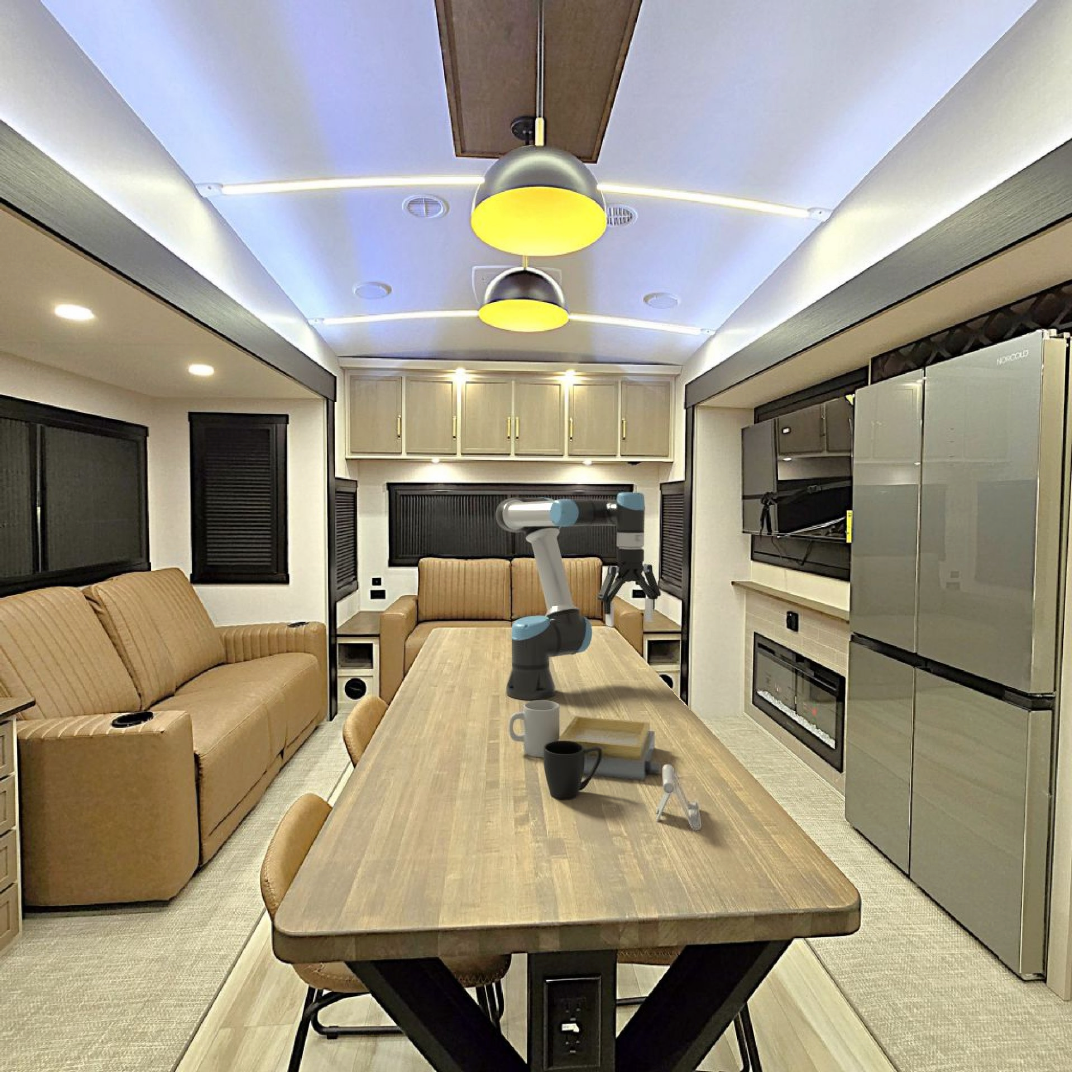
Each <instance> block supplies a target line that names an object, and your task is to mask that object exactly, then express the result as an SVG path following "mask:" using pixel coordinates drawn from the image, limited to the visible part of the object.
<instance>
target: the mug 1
mask: <svg viewBox="0 0 1072 1072" xmlns="http://www.w3.org/2000/svg"><path fill="white" fill-rule="evenodd" d="M516 720H522V721H523V732H522V733H520V734H516V733H515V732H514V722H515V721H516ZM508 732H509V736H510V738H511V740H513V741H515V742H523V753H525V755H527V756H530V757H532V758H540V759H541V758H544V746H545V745H546V744H547V743H550V742H553V741H558V739H559V738H560V736H561V735H560V704H559V703H558V702H555V701H552V700H544V699H536V700H529V701H528V702H526V703H524V704H523V711H519V712H514V713H513V714H512V715H511V716H510V718H509V721H508Z"/></svg>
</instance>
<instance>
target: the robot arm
mask: <svg viewBox="0 0 1072 1072" xmlns="http://www.w3.org/2000/svg"><path fill="white" fill-rule="evenodd" d="M645 502H646V501H645V495H644V493H642V492H637V491H636V492H631V491H630V492H628V491H627V492H619V493H618V494H617V498H616V499H605V498H604V499H602V498H600V499H576V498H575V499H574V498H573V499H571V498H560V499H556V500H555V499H553V498H549V497H540V496H539V497H509V498H507V499H503V500H502V501H501V502H500V503H499V505H498V506H497V507H496V511H495V520H496V522H497V524H498V525H499V527H500V528H502V529H503V530H504V531H507V532H510V533H524V536H525V540H526V542H528V543H530V544H531V547H532V551H533V554H534V560H535V563H536V568H537V572H538V576H539V580H540V584H541V585H540V586H541V589H542V593H543V596H544V601H545V606H546V609H547V610H546V611H547V612H546V613H545V615H530V616H524V617H521V618H518V619H516V620H515V621H514V622H513V623H512V626H511V634H510V639H511V670H510V674H509V676H508V679H507V683H506V686H505V691H506V693H505V694H506V695H507V696H508V697H510V698H513V699H517V700H526V701H527V700H528V701H536V700H544V699H549V698H551V697H554V695H555V694H556V686H555V682H554V679H553V675H552V673H551V669H550V658H555V657H561V656H569V655H572V656H573V655H576V654H580V653H584V652H585V651H586V650H587V649H588V648H589V647H590V645H591V641H592V638H593V628H592V623H591V621H590V620H589V619H588V618H587V617H586V616H583V615H582V614H581V611H580V609H579V607H577V606H576V605H574V602H573V598H572V595H571V591H570V587H569V583H568V579H567V575H566V569H565V567H564V563H563V558H562V554H561V551H560V550H561V549H560V546H559V542H558V539H557V537H558V536H559V534H560V529H561V528H562V527H566V528H568V527H587V526H588V527H592V526H593V527H594V526H595V527H596V526H597V527H598V526H602V527H603V526H611V527H612V526H613V527H614V526H615V527H616V547H618V548H617V549H616V561H617V566H614V565H613V566H612V565H608V566H607V573H606V575H605V577H604V580H603V583H602V585H601V588H600V590H599V593H598V595H597V600H599V601H601V602H603V613H604V615H605V626H608V627H610V628H612V627H614V626H615V623H614V622H615V603H614V602H613V600H614V599H615V597H616V596H617V594H618V592H619V591H620V590H621V588H622V586H624V584H626V583H630V582H636V583H637V584H638V585H639V587H640V589H641V590H642V592H644V594H645V596H646V598H644V622H647V623H653V622H654V611H655V610H656V609H655V608H656V600H657V599H658V598H659V597H661V596H662V593H661V591H660V588H659V585H658V582H657V579H656V578H655V577H656V576H655V574H654V572H653V564H649V563H644V561H645V549H643V548H644V547H645V515H646V513H645V512H646V504H645ZM643 563H644V564H643ZM643 573H644V575H643Z"/></svg>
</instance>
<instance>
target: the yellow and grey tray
mask: <svg viewBox="0 0 1072 1072" xmlns="http://www.w3.org/2000/svg"><path fill="white" fill-rule="evenodd" d="M650 727H651V724H650V722H648V721H647V722H645V721H637V720H634V721H633V720H623V719H611V718H603V717H602V718H600V717H590V716H577V715H575V716H574V717H573V718H572V720H571V722H569V724H568V725H567V727H566V729H565V730H564V731H563V733H562V734H561V735H559V736H560V738H559V739H558V741H573V742H577V743H580V744H582V745H583V746H584V748H585V749H586V748H590V747H599V748H601V750H602V759H601V762H600V764H599V766H598V768H597V769H596V771H595V773H594V775H593V776H598V777H606V778H614V779H615V778H617V779H623V780H625V779H626V780H634V781H642V782H645V780H646V777H647V774H656V775H659V774H660V772H661V771H660V770H661V764H660V763H661V762H659V761H653V760H652V757H653V754H654V751H655V748H656V747H655V742H656V741H655V740H656V739H655V738H656V735H655V731H654V730H653V731H652V730H650V729H651V728H650ZM597 757H598V751H590V752H588V753H585V763H584V771H583V775H586V776H588V775H589V773H590V772H591V770H592V768H593V766H594V764H595V762H596V760H597ZM651 760H652V761H651Z"/></svg>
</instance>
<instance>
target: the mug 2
mask: <svg viewBox="0 0 1072 1072" xmlns="http://www.w3.org/2000/svg"><path fill="white" fill-rule="evenodd" d="M590 751H598V757H597V760H596V762H595V764H594V766H593V768H592V770H591V772H590V773H589V775H586V777H585V778H584V780H583V776H584V774H583V771H584V763H585V753H588V752H590ZM601 759H602V750H601V748H599V747H590V748H586V749H585V748H584V746H583V745H582V744H580V743H577V742H573V741H553V742H550V743H547V744H546V745H545V746H544V757H543V769H544V774H545V778H546V779H545V780H546V782H547V783H546V784H547V787H548V790H549V793H550V796H551V797H552V798H554V799H556V800H561V801H562V800H563V801H569V800H572V799H575V798H577V797H578V795H579V792H580V791H583V790H584V789H585V788H586V787H587V786H588V785H589V783H590V782H591V780H592V778H593V776H595V775H594V773H595V771H596V769H597V768H598V766H599V764H600V762H601ZM582 780H583V781H582Z"/></svg>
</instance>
